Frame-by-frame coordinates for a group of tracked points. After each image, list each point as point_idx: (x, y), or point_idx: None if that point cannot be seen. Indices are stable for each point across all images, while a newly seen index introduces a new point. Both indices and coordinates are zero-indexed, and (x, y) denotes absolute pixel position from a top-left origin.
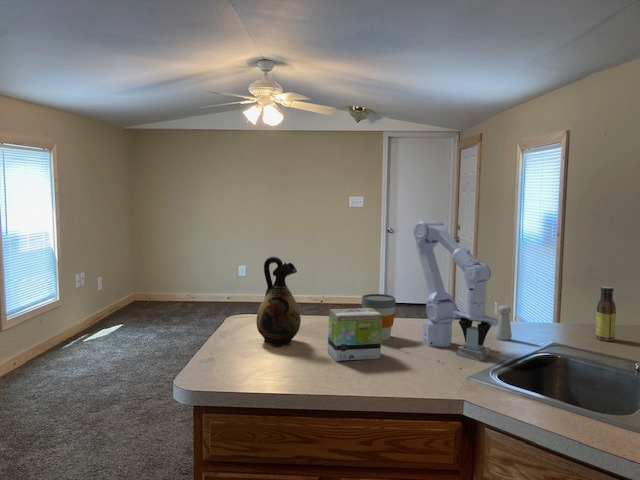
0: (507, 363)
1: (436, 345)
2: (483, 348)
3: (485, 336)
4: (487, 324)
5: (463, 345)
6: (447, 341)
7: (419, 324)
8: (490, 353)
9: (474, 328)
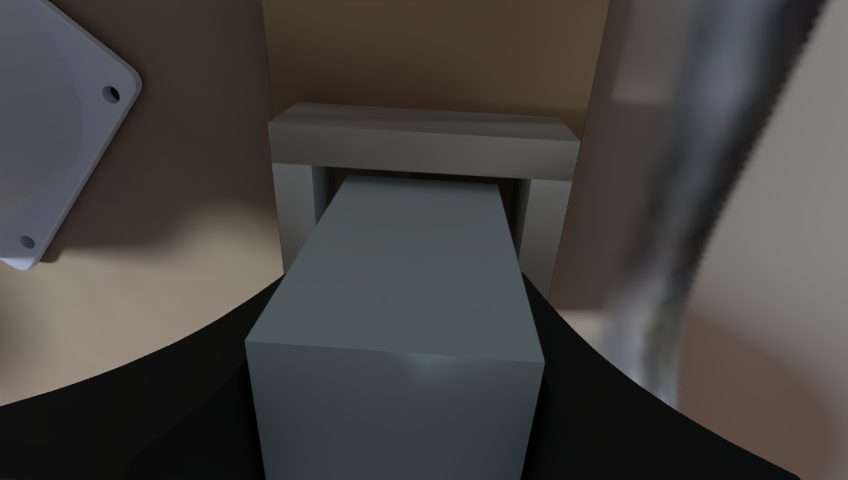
0: (745, 120)
1: (14, 212)
2: (496, 173)
3: (573, 339)
4: None
5: (290, 266)
6: (30, 156)
7: None
8: (539, 27)
9: (378, 472)
